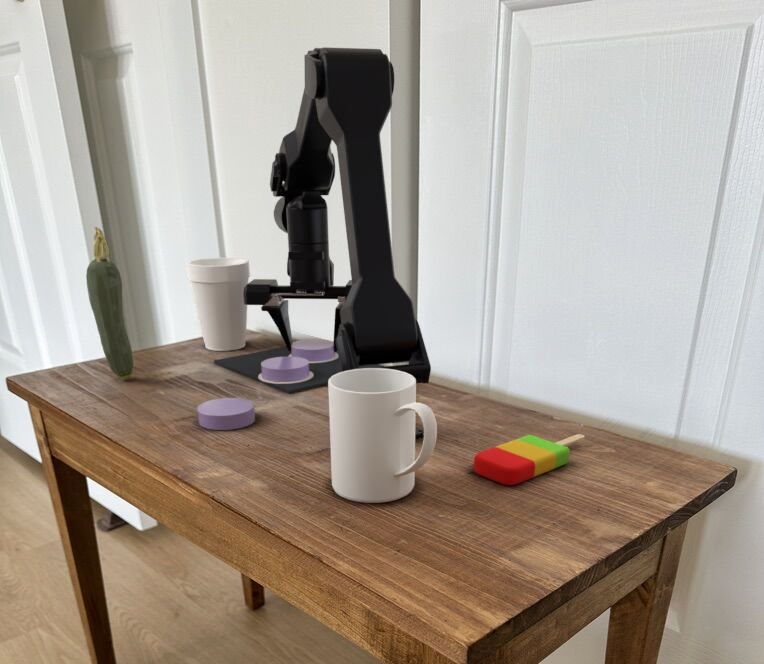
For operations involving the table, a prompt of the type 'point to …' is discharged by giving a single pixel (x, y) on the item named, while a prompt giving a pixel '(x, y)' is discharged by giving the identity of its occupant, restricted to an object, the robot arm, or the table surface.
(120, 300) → the vegetable
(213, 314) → the foam cup
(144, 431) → the table surface
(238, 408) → the purple flat disc
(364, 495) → the mug
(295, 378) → the purple round puck
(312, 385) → the place mat
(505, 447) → the popsicle
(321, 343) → the purple puck
